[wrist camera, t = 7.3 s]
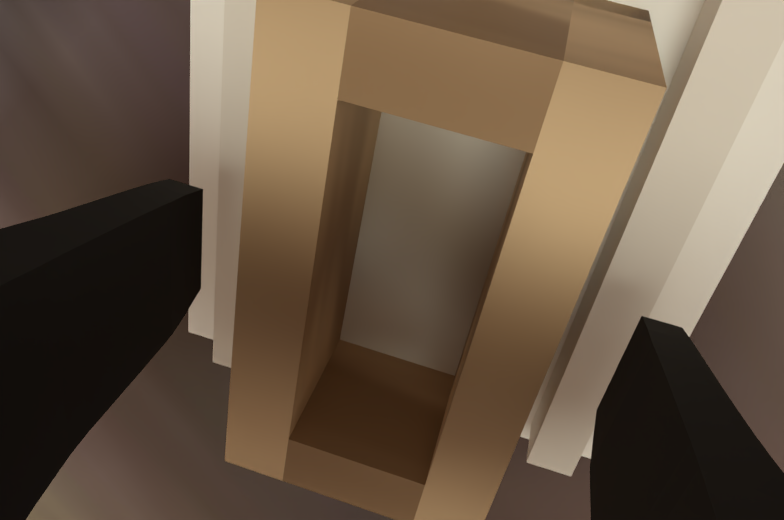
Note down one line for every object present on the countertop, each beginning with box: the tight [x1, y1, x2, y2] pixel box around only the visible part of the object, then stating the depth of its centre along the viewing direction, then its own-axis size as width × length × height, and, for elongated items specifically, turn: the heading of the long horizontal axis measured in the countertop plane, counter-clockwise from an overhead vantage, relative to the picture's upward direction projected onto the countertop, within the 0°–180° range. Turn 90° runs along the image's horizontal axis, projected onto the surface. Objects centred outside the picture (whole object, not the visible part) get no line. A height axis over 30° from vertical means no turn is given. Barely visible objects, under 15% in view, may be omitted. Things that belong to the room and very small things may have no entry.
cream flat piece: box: [188, 0, 784, 476], centre depth 14 cm, size 12×11×2 cm
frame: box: [225, 0, 667, 520], centre depth 12 cm, size 9×5×4 cm, turn 169°
